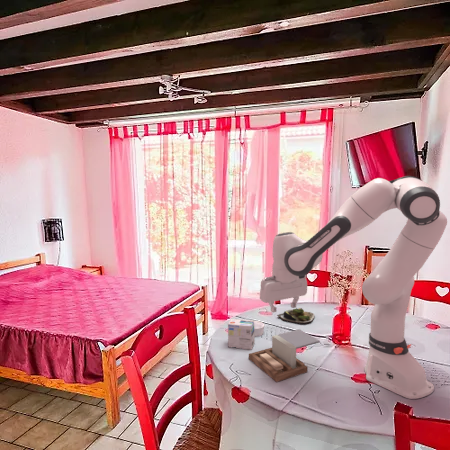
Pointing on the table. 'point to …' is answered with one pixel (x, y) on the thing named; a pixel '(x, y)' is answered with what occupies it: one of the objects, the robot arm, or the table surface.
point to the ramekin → (258, 328)
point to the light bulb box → (241, 334)
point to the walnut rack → (286, 368)
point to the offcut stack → (271, 362)
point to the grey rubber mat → (299, 338)
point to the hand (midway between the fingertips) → (283, 309)
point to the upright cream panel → (284, 350)
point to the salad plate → (297, 316)
